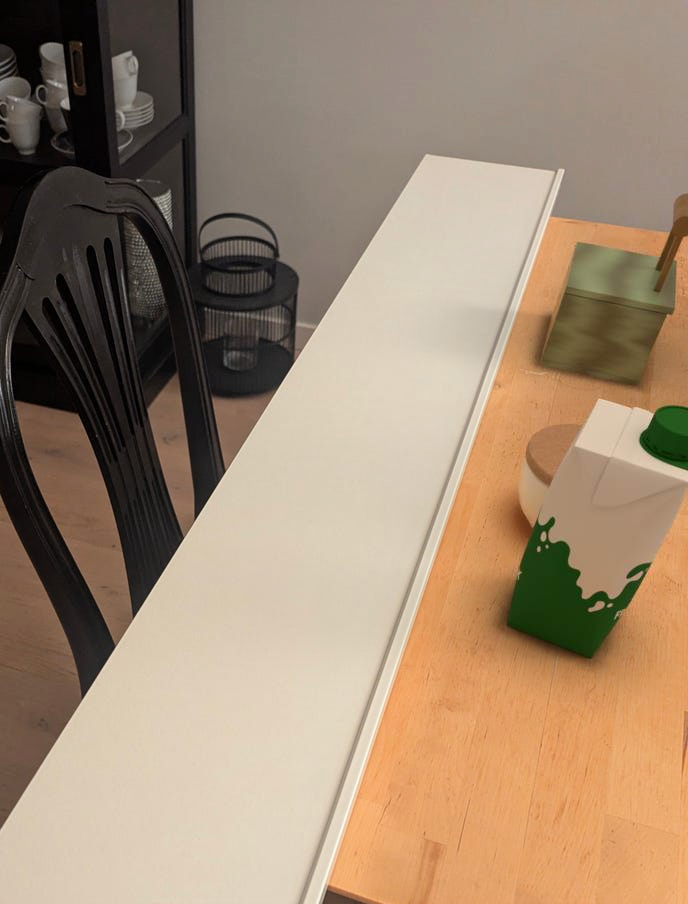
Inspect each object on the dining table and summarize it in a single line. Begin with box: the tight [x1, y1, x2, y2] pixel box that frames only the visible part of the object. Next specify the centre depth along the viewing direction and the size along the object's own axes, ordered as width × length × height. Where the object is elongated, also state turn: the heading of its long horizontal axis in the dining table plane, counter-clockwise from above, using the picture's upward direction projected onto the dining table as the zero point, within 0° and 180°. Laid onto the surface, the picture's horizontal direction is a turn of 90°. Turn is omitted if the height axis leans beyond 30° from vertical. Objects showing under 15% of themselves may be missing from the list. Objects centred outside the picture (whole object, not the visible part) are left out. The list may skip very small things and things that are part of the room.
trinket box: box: [517, 423, 583, 530], centre depth 83 cm, size 11×11×9 cm
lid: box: [564, 193, 688, 316], centre depth 101 cm, size 12×13×9 cm
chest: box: [539, 248, 668, 387], centre depth 107 cm, size 11×13×9 cm
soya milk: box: [506, 398, 688, 659], centre depth 70 cm, size 9×9×20 cm
